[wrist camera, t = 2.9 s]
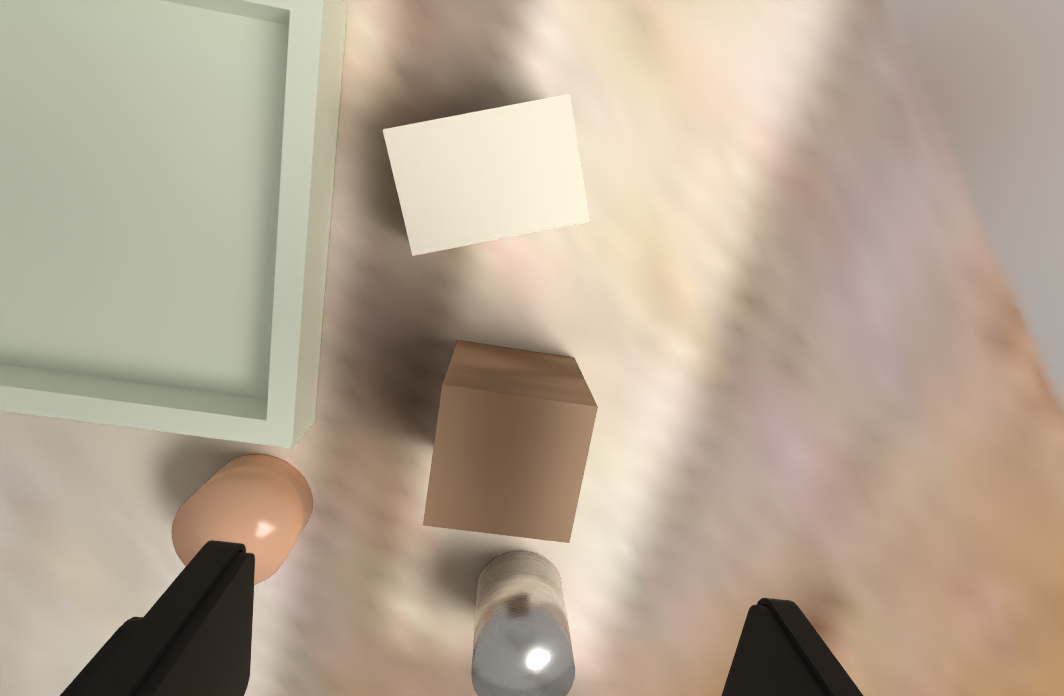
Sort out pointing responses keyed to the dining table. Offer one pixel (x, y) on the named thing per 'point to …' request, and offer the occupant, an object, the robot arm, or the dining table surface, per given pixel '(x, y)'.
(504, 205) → the cream block
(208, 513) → the peach rounded capsule
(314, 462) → the dining table surface
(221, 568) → the robot arm
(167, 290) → the tray
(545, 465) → the walnut block
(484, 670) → the grey cylinder
